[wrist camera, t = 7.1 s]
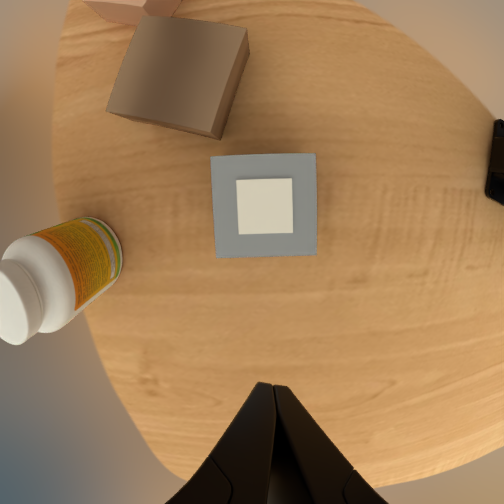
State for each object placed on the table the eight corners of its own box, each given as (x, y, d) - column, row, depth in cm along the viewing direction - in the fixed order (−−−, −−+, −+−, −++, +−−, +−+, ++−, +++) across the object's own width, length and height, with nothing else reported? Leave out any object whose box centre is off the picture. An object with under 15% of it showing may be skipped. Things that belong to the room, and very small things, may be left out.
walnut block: (249, 55, 16) (247, 28, 12) (221, 140, 18) (210, 132, 14) (163, 40, 16) (142, 15, 12) (134, 121, 17) (105, 111, 13)
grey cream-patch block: (304, 157, 18) (316, 153, 14) (305, 238, 19) (317, 256, 15) (221, 160, 18) (209, 156, 14) (225, 240, 19) (215, 259, 15)
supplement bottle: (85, 199, 18) (-18, 226, 9) (138, 252, 19) (54, 314, 10) (53, 254, 20) (-37, 301, 10) (101, 302, 20) (24, 375, 11)
